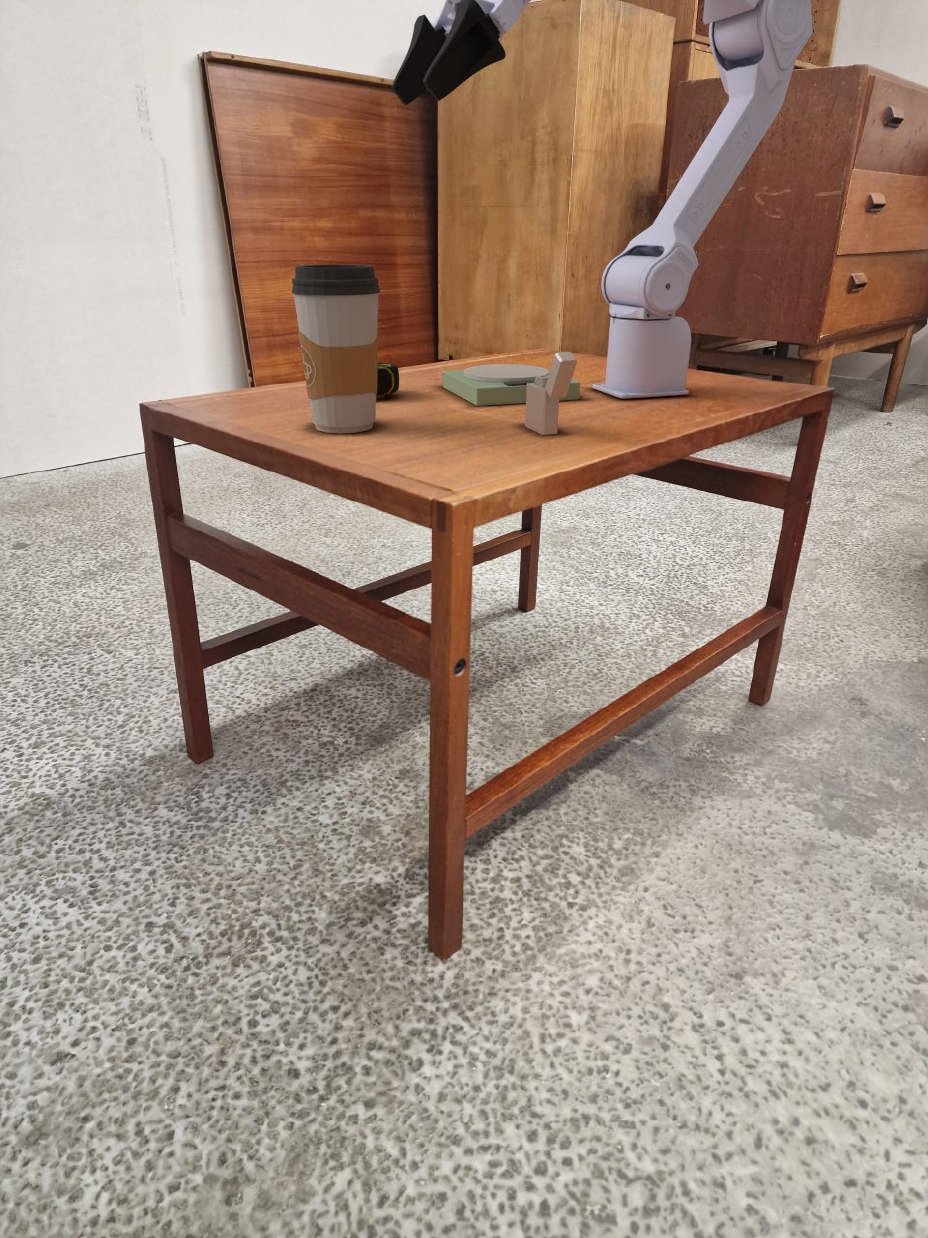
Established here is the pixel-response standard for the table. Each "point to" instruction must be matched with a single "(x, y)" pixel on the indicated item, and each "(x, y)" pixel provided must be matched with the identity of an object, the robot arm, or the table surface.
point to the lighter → (549, 394)
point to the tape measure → (387, 379)
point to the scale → (498, 383)
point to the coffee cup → (339, 343)
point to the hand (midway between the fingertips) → (414, 93)
